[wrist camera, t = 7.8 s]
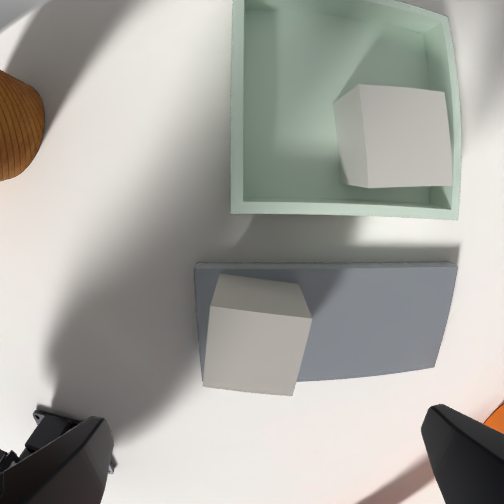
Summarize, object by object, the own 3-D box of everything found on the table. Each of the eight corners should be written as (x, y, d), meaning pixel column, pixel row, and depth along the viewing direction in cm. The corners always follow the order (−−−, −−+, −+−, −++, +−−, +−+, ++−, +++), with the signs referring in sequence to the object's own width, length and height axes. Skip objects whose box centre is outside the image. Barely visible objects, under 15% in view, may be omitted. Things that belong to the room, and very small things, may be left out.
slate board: (427, 359, 19) (434, 367, 18) (204, 371, 19) (202, 381, 18) (449, 262, 17) (457, 266, 16) (197, 262, 17) (194, 268, 16)
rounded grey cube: (410, 180, 15) (452, 185, 11) (340, 183, 15) (368, 188, 11) (404, 105, 14) (444, 92, 10) (332, 103, 14) (358, 84, 10)
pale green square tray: (429, 211, 16) (458, 220, 13) (234, 205, 16) (230, 214, 13) (423, 33, 14) (447, 16, 11) (235, 9, 14) (233, -18, 11)
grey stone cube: (284, 350, 17) (292, 395, 13) (212, 342, 17) (202, 386, 13) (298, 283, 16) (312, 318, 12) (219, 273, 16) (210, 305, 12)
